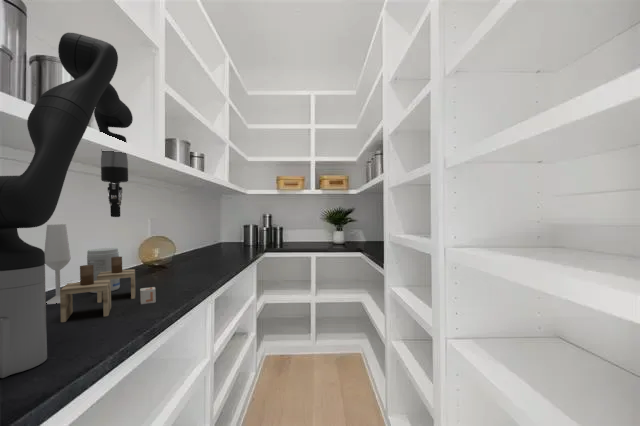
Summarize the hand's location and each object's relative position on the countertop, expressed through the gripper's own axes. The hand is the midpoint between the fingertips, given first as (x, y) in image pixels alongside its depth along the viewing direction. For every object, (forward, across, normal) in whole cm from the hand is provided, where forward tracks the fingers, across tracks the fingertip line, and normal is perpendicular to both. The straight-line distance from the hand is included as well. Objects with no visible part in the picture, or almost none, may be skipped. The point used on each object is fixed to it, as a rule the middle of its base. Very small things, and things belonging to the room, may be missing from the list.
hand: (115, 216), depth 111 cm
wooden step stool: (+26, -19, +6) cm, 33 cm away
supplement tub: (+26, +15, +5) cm, 31 cm away
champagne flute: (+26, +4, +16) cm, 31 cm away
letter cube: (+26, -12, -9) cm, 30 cm away
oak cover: (+26, 0, 0) cm, 26 cm away
